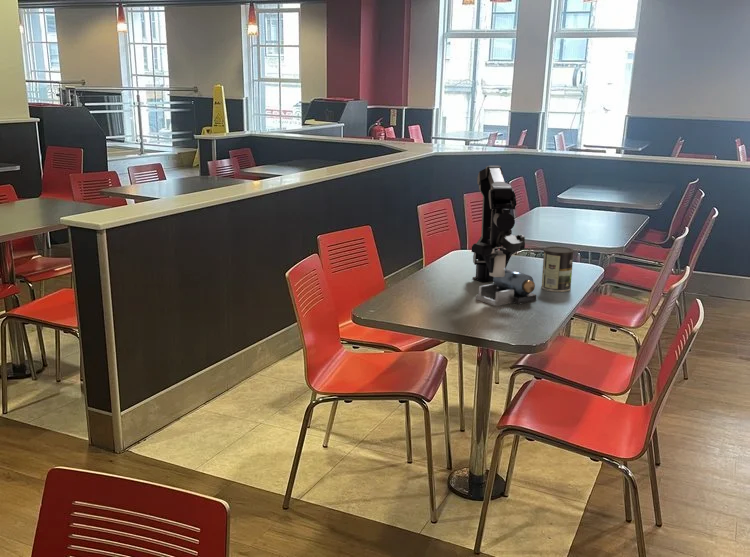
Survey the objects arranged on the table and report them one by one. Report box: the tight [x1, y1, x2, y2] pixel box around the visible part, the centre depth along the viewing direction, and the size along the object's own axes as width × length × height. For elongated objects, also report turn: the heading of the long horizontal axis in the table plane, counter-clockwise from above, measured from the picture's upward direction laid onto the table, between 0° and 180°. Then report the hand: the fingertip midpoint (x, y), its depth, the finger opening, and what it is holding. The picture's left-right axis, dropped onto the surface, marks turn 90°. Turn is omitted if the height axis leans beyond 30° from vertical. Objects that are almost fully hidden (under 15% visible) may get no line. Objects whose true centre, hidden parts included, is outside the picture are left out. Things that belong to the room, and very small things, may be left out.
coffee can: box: [541, 246, 575, 293], centre depth 245 cm, size 10×10×14 cm
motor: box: [475, 268, 537, 307], centre depth 232 cm, size 15×16×9 cm
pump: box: [489, 249, 506, 277], centre depth 228 cm, size 5×5×8 cm
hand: (497, 271), depth 229 cm, fingers closed on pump, 5 cm apart
